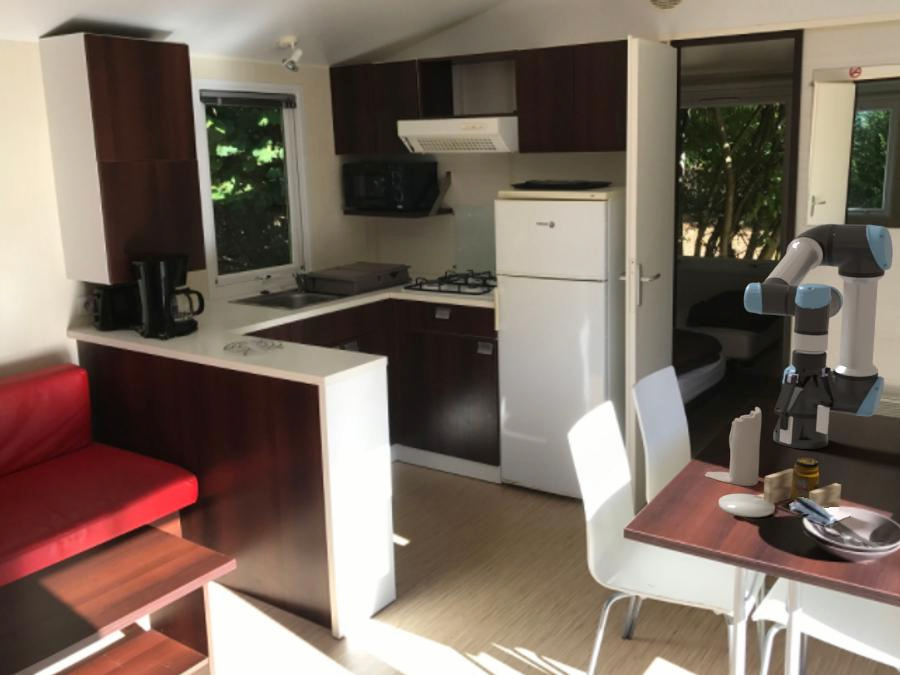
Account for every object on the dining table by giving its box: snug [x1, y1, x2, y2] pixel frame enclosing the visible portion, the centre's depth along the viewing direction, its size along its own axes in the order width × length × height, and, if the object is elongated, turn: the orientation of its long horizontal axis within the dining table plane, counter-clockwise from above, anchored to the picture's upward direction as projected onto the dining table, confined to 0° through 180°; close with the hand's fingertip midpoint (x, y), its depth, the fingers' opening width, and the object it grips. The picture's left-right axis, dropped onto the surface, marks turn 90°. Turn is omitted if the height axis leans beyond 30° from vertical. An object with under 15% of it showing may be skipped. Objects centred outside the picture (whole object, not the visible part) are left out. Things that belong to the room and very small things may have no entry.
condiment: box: [777, 457, 820, 515], centre depth 220 cm, size 7×8×12 cm
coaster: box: [718, 493, 776, 518], centre depth 223 cm, size 13×13×1 cm
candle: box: [704, 406, 763, 487], centre depth 239 cm, size 7×14×20 cm, turn 55°
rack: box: [754, 468, 842, 508], centre depth 221 cm, size 10×20×7 cm, turn 33°
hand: (803, 437), depth 218 cm, fingers open, 13 cm apart
